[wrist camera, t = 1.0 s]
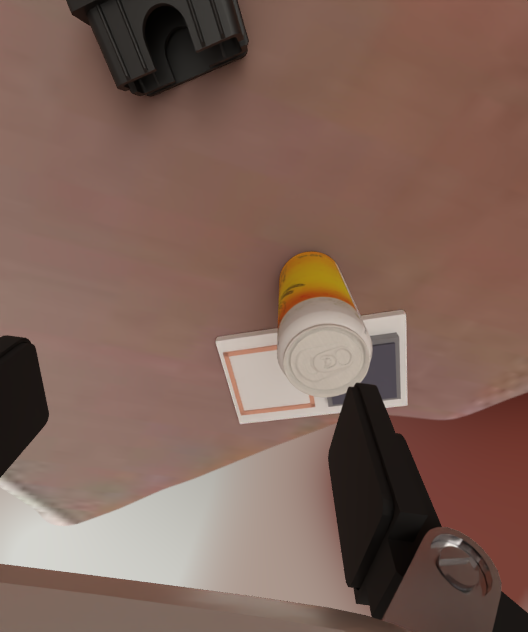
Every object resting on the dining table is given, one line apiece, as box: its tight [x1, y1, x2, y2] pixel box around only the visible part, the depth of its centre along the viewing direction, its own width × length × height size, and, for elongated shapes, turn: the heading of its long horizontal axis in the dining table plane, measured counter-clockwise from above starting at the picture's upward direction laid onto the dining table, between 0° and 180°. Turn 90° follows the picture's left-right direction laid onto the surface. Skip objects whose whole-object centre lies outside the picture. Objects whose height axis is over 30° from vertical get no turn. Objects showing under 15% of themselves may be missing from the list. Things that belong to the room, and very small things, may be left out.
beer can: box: [277, 251, 373, 397], centre depth 28 cm, size 6×6×15 cm
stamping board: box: [215, 310, 407, 424], centre depth 38 cm, size 20×12×2 cm, turn 101°
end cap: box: [66, 0, 249, 96], centre depth 23 cm, size 10×7×7 cm
